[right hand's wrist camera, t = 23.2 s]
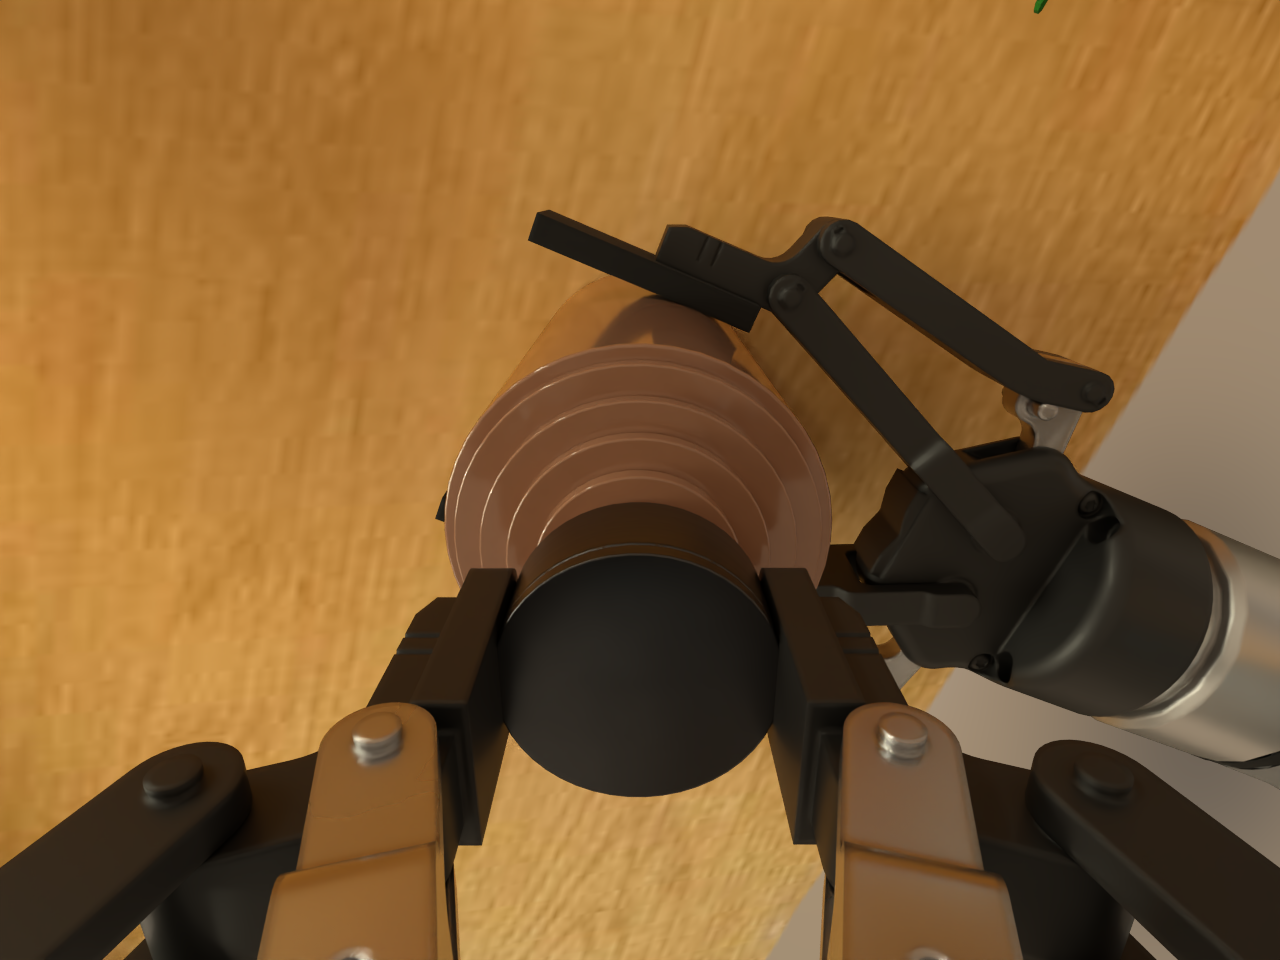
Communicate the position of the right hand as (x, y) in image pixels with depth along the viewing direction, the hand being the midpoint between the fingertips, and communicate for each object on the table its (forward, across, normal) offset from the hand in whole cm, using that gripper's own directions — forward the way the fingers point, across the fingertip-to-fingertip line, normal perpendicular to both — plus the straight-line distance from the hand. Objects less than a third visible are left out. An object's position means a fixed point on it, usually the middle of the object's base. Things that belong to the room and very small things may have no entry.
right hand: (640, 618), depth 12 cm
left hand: (+11, -4, +2) cm, 12 cm away
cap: (-2, 0, 0) cm, 2 cm away
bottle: (+18, 0, 0) cm, 18 cm away
